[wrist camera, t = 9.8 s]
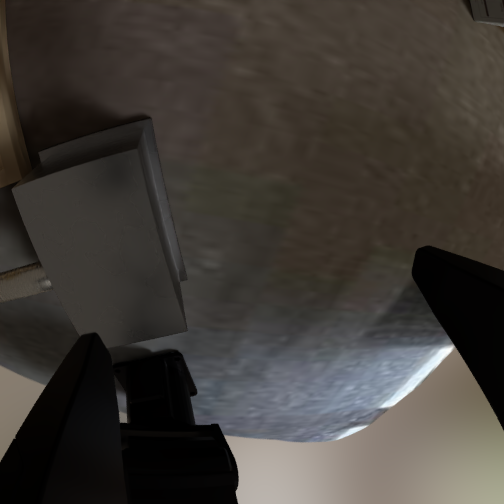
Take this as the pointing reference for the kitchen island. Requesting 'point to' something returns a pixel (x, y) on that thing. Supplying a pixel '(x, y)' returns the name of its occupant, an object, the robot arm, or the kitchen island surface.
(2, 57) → the tray
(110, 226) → the vise block
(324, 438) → the kitchen island surface
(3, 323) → the kitchen island surface
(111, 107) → the kitchen island surface
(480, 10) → the supplement box
